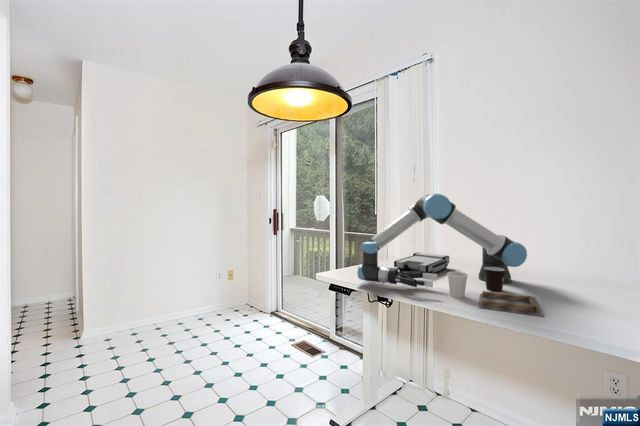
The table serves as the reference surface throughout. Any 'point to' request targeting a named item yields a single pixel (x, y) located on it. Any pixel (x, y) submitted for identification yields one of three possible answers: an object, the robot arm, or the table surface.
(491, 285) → the coffee mug
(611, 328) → the table surface
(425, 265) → the game console
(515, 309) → the tray with wooden rails
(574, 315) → the table surface
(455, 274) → the dixie cup
